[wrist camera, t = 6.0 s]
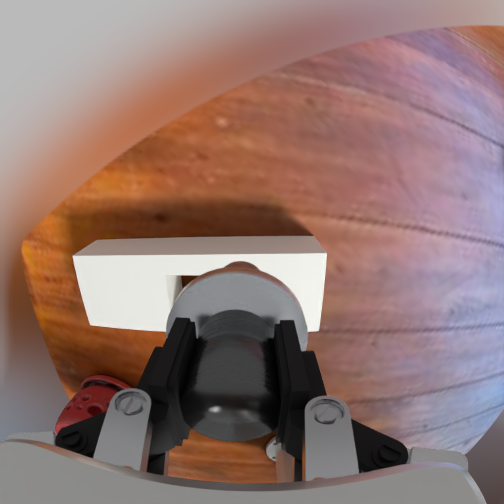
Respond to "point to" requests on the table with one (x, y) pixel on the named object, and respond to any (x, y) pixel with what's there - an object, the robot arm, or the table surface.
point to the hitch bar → (188, 263)
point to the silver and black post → (235, 350)
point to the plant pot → (90, 399)
